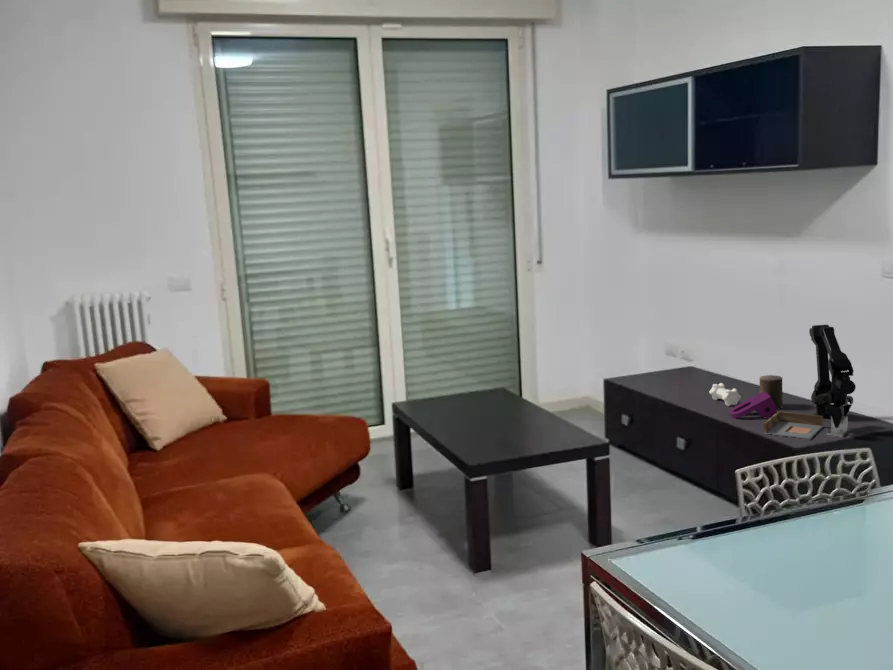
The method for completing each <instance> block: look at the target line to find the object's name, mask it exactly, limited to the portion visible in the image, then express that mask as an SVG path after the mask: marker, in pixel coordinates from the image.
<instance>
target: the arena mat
mask: <svg viewBox="0 0 893 670" xmlns="http://www.w3.org/2000/svg"><path fill="white" fill-rule="evenodd" d="M823 428H824V425H823V426H818V425H809V424H800V423H791V422H783V421H780V422H779V423H777V424H776V425H775V426H774V427H773V428H771V429H770V430H769V431H768V432H767V433H765V432H764V431H763V434H764V435H766V434H772V435H771V436H774V435H779V436H778V437H782V436H788V437H787V438H790V437H797V438H796V439H798V438H804V439H803V440H806V439H810V440H812V439H813V438H814V437H815V435H817V434H818V433H819V432H820V430H821V429H823ZM818 431H819V432H818ZM821 431H822V430H821ZM817 432H818V433H817Z"/></svg>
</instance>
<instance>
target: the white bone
mask: <svg viewBox="0 0 893 670" xmlns="http://www.w3.org/2000/svg"><path fill="white" fill-rule="evenodd" d="M709 394H710V395H711V398H712V399H713V400H714V401H717V400H723V401H724V405H726V406H727V407H730V406H737V405H738V402H739V401H740V399H741V395H740V394H739V391H738V389H737V388H732V389H728V388H726V386H725V384H724V382H723V383H722V382H720V383H719V384H717V383H713V384H712V387H711V389H710V390H709Z"/></svg>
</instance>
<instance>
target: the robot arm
mask: <svg viewBox="0 0 893 670" xmlns="http://www.w3.org/2000/svg"><path fill="white" fill-rule="evenodd" d="M808 332H809V333H808V334H809V336H810V340H811V342H812V343H813V344H814V345H815V354H816V355H815V356H816V369H817V370H816V371H817V380H816V382H815V384H814V387H813V388H814V390H813V392H812V394H811V396H810V400H811V402H812V403H813V404H814V405H815V412H816V413H815V414H814V415H818V416H823V419H831V416H832V419H833V422H834V425H835V428H838V427H839V425H840V422H841V420H842V417H843V416H848V414H849V411H850V410H851V409H852V408H851V407H852V405H853V404H854V398H853V396H852V395H851V394H853V393H854V392H855V390H856V383H854V381H852V379H851V377H853V376H854V369H853V365H852V362H851V360H850V359H849V358H848V356H847V354H846V353H844V352H843V351H842V350H841V347H840V344H839V342H838V339H837V337H836V335H835V328H834V327H833V326H829V324H816V325H815V324H814V325H812V326H811V327H810V328H809V331H808ZM830 375H831V376H830Z"/></svg>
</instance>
